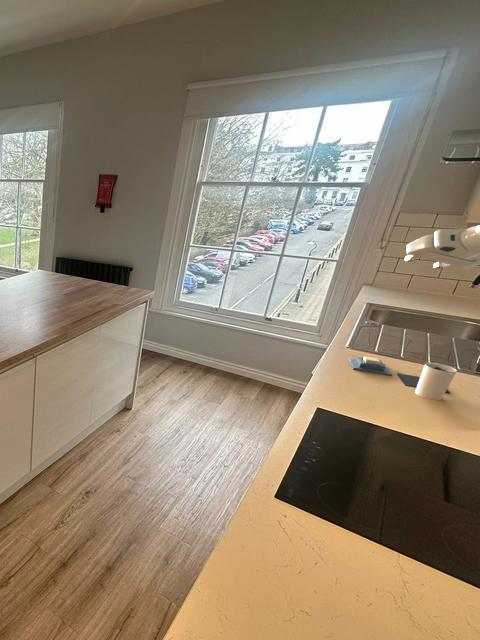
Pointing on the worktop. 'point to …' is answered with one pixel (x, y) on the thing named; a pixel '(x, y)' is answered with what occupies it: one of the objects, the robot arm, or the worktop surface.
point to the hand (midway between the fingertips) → (420, 263)
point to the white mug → (434, 380)
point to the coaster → (411, 380)
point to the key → (371, 360)
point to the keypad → (369, 367)
